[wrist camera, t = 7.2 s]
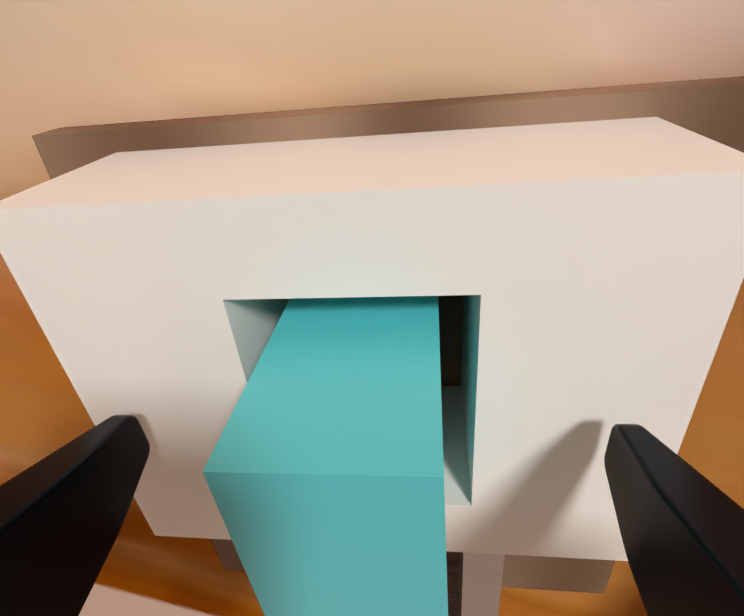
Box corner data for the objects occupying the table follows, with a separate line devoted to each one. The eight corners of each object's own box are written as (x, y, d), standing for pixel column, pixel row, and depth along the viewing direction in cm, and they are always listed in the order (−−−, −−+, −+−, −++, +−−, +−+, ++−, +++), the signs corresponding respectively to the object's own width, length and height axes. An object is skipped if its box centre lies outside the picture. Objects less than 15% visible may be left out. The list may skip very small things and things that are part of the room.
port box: (656, 117, 9) (784, 170, 6) (587, 431, 14) (636, 561, 11) (116, 152, 11) (-24, 210, 8) (214, 424, 16) (154, 536, 12)
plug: (436, 238, 11) (444, 477, 5) (440, 367, 13) (449, 641, 7) (316, 244, 12) (202, 471, 6) (338, 368, 14) (270, 628, 8)
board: (744, 76, 10) (774, 81, 9) (596, 568, 19) (604, 593, 18) (60, 128, 12) (31, 136, 11) (232, 547, 21) (224, 569, 21)
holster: (497, 443, 15) (509, 514, 13) (486, 578, 19) (494, 648, 17) (291, 438, 16) (270, 504, 14) (323, 568, 20) (310, 634, 18)
